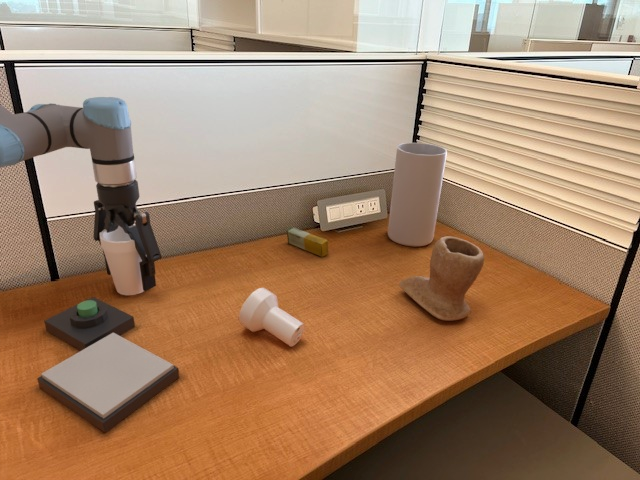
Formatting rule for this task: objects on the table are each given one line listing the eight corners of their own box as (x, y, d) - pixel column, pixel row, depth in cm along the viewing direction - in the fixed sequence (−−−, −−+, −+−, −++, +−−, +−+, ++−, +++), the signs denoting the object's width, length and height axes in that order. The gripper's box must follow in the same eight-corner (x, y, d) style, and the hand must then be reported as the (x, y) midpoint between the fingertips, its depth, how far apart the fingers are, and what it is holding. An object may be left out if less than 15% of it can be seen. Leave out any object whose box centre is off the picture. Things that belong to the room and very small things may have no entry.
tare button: (74, 314, 87) (73, 306, 86) (90, 306, 90) (89, 298, 89) (85, 319, 86) (84, 311, 85) (101, 311, 88) (100, 303, 87)
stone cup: (485, 317, 98) (500, 252, 92) (437, 329, 94) (449, 261, 87) (440, 282, 111) (450, 222, 104) (396, 291, 106) (404, 229, 100)
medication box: (287, 243, 126) (285, 230, 124) (294, 239, 128) (293, 226, 126) (322, 257, 119) (321, 243, 117) (328, 253, 121) (328, 239, 119)
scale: (39, 388, 75) (35, 374, 74) (116, 342, 86) (113, 329, 85) (104, 433, 68) (101, 418, 67) (179, 377, 79) (178, 363, 77)
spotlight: (264, 306, 96) (265, 278, 91) (309, 335, 92) (313, 308, 86) (236, 331, 91) (235, 302, 86) (283, 363, 86) (285, 335, 81)
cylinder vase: (423, 252, 125) (437, 158, 114) (379, 239, 130) (389, 149, 120) (439, 235, 134) (453, 148, 124) (397, 225, 140) (408, 140, 129)
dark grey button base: (46, 331, 88) (42, 313, 86) (95, 306, 96) (91, 289, 94) (87, 355, 83) (83, 336, 81) (135, 327, 90) (132, 309, 89)
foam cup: (99, 295, 100) (88, 238, 94) (125, 274, 108) (117, 221, 102) (139, 302, 98) (132, 245, 92) (163, 280, 106) (157, 227, 100)
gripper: (174, 188, 90) (183, 288, 100) (96, 165, 101) (111, 258, 110) (141, 199, 84) (154, 305, 94) (62, 174, 95) (81, 271, 104)
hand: (131, 279), depth 102 cm, fingers open, 11 cm apart
